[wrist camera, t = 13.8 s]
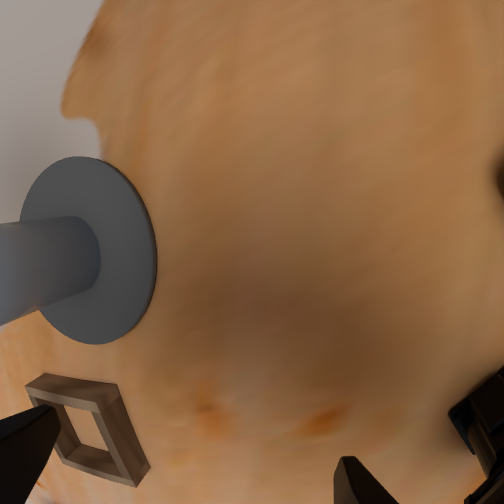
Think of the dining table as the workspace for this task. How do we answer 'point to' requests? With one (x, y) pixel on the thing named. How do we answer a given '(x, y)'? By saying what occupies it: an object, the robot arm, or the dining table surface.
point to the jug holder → (107, 419)
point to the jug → (45, 263)
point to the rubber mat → (110, 243)
